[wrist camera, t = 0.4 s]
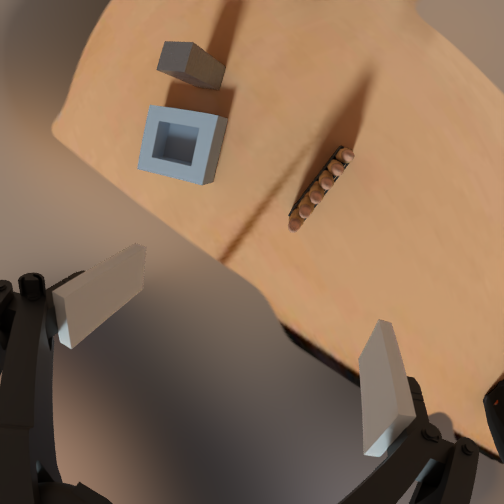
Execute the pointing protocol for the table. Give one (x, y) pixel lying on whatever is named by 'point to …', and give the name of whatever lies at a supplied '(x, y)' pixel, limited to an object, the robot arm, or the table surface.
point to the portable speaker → (496, 416)
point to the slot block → (182, 144)
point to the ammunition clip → (319, 187)
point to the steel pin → (191, 65)
